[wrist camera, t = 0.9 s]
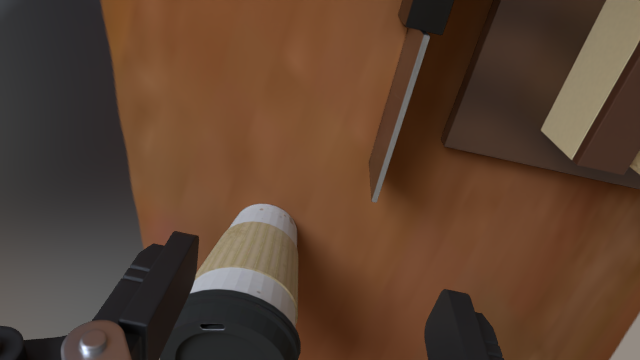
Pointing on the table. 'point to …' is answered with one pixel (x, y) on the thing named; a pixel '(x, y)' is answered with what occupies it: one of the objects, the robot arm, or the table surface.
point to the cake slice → (602, 94)
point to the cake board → (523, 84)
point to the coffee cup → (243, 294)
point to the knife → (405, 79)
